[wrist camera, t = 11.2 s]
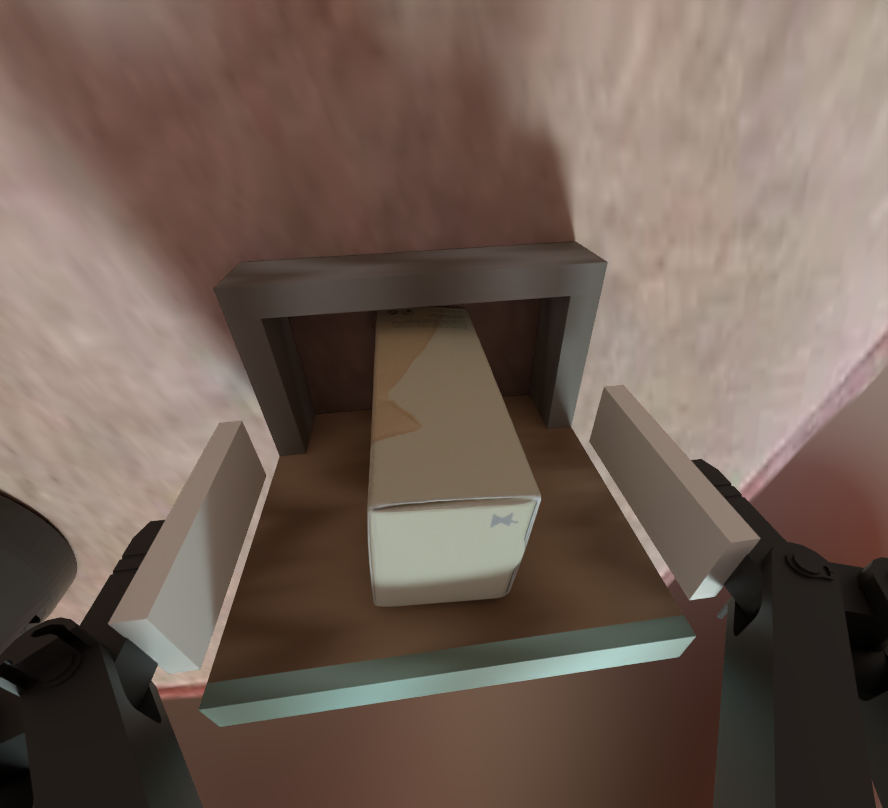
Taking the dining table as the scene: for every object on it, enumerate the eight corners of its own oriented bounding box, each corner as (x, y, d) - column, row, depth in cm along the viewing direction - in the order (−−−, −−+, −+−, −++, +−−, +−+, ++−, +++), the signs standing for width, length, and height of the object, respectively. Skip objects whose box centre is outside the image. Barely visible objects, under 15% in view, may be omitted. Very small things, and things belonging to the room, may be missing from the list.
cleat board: (299, 437, 21) (219, 727, 11) (240, 262, 15) (-35, 527, 5) (546, 413, 22) (678, 656, 12) (575, 241, 17) (867, 429, 6)
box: (375, 303, 17) (363, 499, 8) (470, 306, 18) (552, 491, 9) (378, 399, 20) (371, 615, 11) (458, 398, 21) (511, 604, 12)
